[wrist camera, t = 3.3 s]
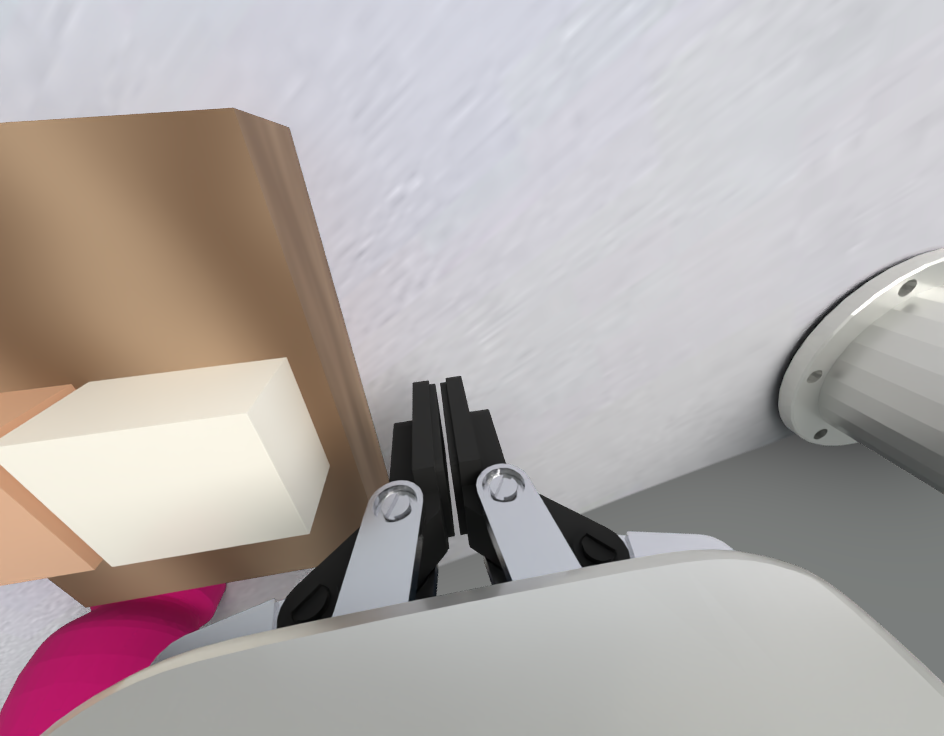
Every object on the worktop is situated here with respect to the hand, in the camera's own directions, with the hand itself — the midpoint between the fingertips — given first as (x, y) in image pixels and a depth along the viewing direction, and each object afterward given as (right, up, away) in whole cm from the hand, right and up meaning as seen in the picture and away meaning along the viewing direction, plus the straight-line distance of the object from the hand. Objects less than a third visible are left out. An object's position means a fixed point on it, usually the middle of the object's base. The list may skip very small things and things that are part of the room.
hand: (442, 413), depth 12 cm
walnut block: (-11, +1, +3) cm, 12 cm away
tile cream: (-8, -1, 0) cm, 8 cm away
